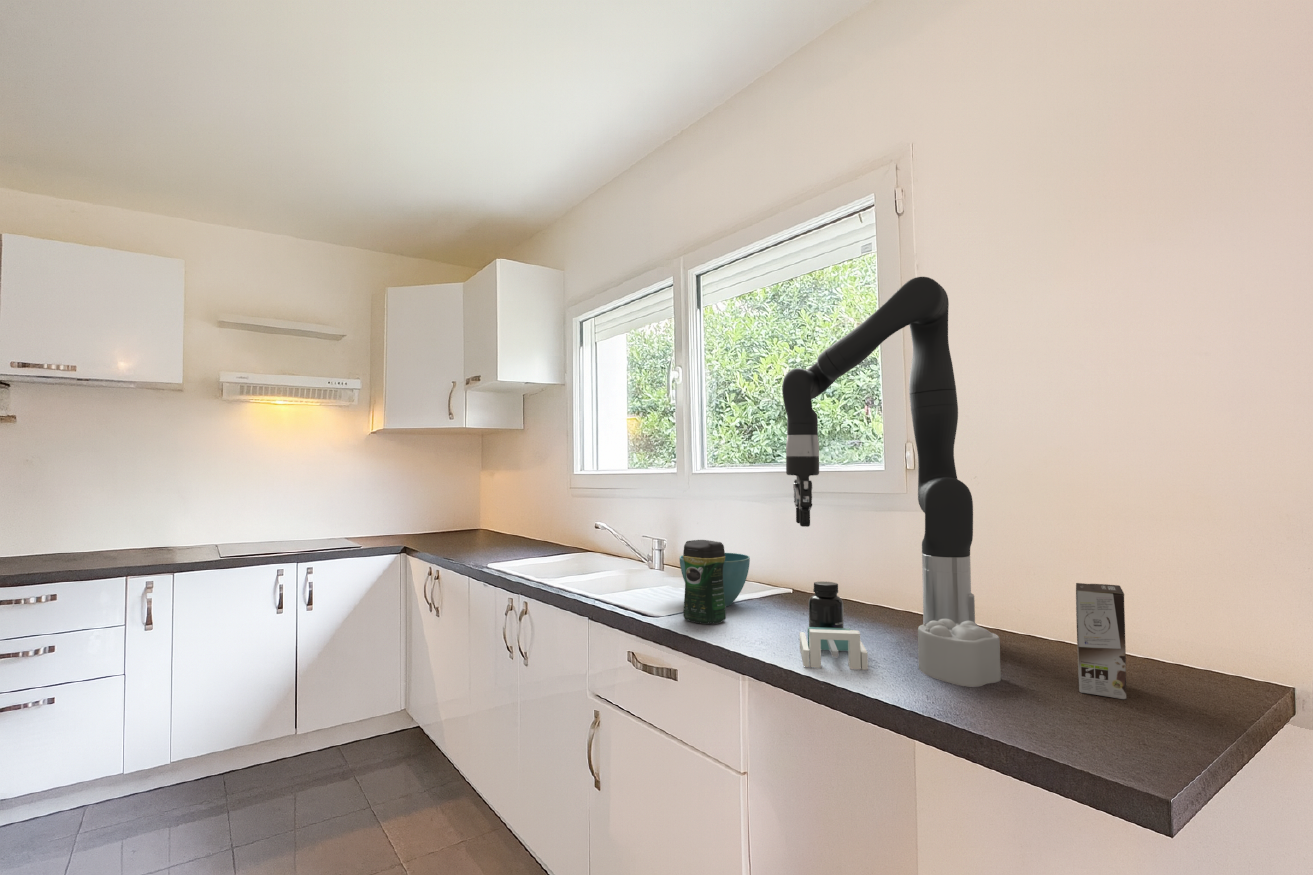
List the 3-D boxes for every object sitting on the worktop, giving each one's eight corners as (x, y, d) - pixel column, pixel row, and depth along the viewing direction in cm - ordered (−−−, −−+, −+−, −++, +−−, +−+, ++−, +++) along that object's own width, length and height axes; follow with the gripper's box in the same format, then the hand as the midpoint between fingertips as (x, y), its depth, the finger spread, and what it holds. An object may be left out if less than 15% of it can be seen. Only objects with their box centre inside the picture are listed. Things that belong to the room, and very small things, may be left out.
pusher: (850, 649, 130) (849, 628, 130) (858, 667, 118) (858, 644, 118) (807, 647, 131) (807, 626, 131) (812, 665, 119) (812, 642, 119)
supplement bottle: (845, 648, 132) (844, 586, 132) (809, 646, 133) (808, 585, 134) (842, 639, 138) (841, 580, 139) (808, 637, 140) (807, 579, 140)
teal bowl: (705, 614, 162) (705, 563, 162) (666, 601, 178) (666, 555, 178) (764, 606, 171) (764, 558, 171) (722, 594, 187) (722, 550, 187)
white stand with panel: (857, 649, 130) (857, 617, 131) (867, 669, 118) (867, 634, 118) (799, 647, 132) (799, 615, 132) (803, 667, 119) (803, 631, 120)
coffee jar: (731, 621, 155) (731, 540, 156) (708, 627, 149) (708, 543, 150) (700, 614, 162) (700, 537, 163) (677, 619, 156) (677, 539, 157)
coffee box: (1128, 700, 102) (1125, 593, 103) (1078, 693, 105) (1075, 589, 106) (1124, 684, 110) (1121, 584, 110) (1078, 677, 113) (1075, 581, 114)
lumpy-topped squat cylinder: (967, 689, 108) (966, 634, 108) (903, 668, 119) (902, 618, 119) (1009, 679, 112) (1007, 627, 113) (943, 659, 124) (942, 612, 124)
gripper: (823, 454, 149) (823, 528, 149) (815, 455, 163) (815, 522, 163) (788, 454, 150) (789, 527, 149) (783, 455, 164) (784, 521, 163)
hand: (802, 524), depth 156 cm, fingers open, 8 cm apart
